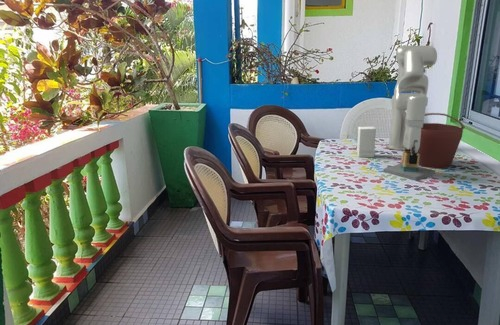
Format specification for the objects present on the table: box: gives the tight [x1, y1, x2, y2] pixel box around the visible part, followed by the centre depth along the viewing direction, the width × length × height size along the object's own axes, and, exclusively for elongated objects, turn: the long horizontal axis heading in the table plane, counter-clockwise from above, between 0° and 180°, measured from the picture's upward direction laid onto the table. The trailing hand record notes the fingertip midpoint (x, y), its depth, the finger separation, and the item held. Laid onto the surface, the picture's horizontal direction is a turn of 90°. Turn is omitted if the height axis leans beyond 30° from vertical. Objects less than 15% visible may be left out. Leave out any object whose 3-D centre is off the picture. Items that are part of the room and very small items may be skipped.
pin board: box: [382, 163, 436, 181], centre depth 174 cm, size 16×16×6 cm
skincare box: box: [356, 126, 377, 158], centre depth 202 cm, size 8×7×16 cm
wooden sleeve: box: [400, 150, 420, 172], centre depth 174 cm, size 6×6×8 cm
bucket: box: [412, 112, 466, 170], centre depth 186 cm, size 24×22×25 cm
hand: (410, 161), depth 174 cm, fingers open, 8 cm apart
